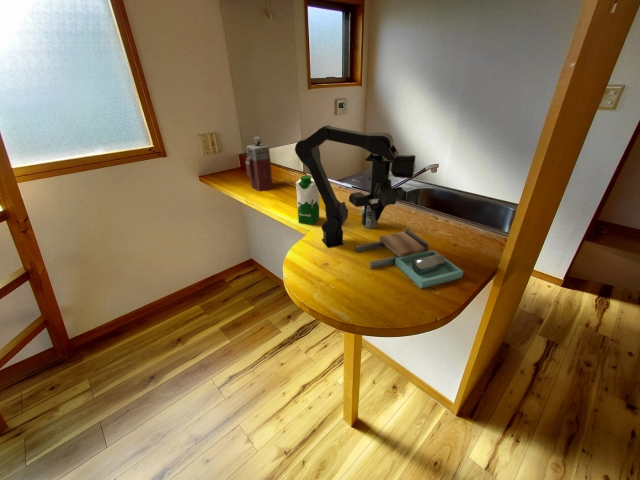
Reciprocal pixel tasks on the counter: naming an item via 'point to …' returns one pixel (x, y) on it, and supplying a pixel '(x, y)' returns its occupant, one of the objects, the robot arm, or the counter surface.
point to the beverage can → (368, 217)
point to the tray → (430, 277)
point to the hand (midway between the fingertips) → (376, 220)
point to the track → (380, 244)
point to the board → (402, 244)
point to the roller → (428, 263)
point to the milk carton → (307, 200)
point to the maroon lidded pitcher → (259, 165)
